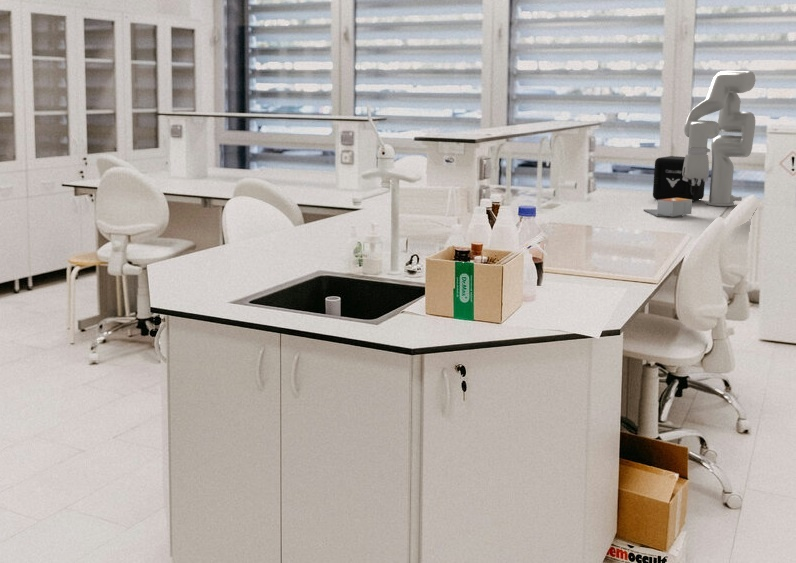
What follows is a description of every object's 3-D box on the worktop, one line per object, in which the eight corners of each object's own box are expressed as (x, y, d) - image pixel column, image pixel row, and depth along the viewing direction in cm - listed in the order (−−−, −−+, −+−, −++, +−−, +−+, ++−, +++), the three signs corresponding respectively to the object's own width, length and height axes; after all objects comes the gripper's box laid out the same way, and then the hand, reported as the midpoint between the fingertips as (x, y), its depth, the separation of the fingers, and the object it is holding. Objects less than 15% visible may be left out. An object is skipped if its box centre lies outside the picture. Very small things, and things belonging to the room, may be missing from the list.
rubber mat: (668, 210, 401) (668, 209, 401) (682, 216, 384) (682, 215, 384) (643, 210, 401) (643, 209, 401) (656, 217, 383) (656, 215, 383)
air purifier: (650, 199, 438) (653, 157, 434) (663, 196, 449) (666, 155, 445) (691, 203, 425) (694, 160, 421) (703, 200, 436) (706, 158, 432)
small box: (692, 199, 386) (673, 201, 379) (691, 214, 388) (672, 216, 380) (676, 197, 393) (657, 199, 385) (675, 211, 394) (656, 214, 387)
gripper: (711, 150, 391) (708, 193, 395) (677, 150, 391) (674, 193, 395) (718, 152, 384) (714, 195, 388) (682, 152, 383) (679, 195, 387)
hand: (694, 194), depth 391 cm, fingers closed
